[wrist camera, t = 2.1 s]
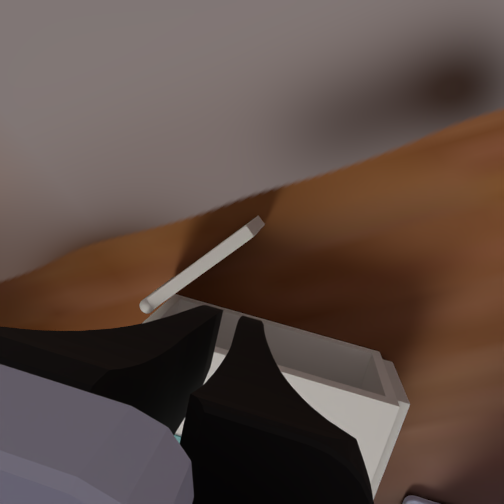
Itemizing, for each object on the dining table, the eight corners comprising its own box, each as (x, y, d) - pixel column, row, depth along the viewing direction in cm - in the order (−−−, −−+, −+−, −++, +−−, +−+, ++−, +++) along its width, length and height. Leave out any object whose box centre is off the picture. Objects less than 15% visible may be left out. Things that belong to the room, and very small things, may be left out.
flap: (174, 291, 21) (145, 316, 18) (167, 281, 21) (136, 304, 18) (265, 225, 20) (254, 237, 16) (257, 214, 20) (245, 224, 16)
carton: (392, 355, 21) (416, 412, 16) (307, 592, 25) (306, 695, 20) (175, 293, 22) (134, 329, 17) (130, 529, 26) (88, 612, 21)
